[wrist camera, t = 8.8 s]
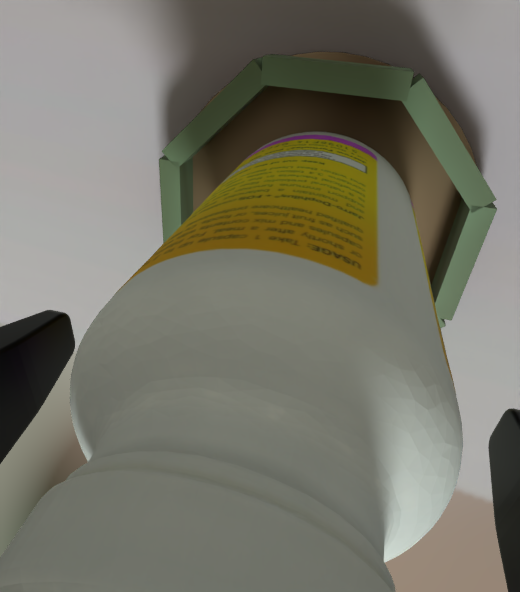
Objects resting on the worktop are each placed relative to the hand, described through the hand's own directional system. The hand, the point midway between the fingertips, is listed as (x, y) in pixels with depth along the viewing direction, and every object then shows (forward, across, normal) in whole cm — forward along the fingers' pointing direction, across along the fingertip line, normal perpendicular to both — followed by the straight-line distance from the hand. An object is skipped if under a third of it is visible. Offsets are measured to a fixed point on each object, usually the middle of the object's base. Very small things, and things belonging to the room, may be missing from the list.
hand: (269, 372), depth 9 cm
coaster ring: (+8, 0, 0) cm, 8 cm away
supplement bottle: (+8, 0, 0) cm, 8 cm away
